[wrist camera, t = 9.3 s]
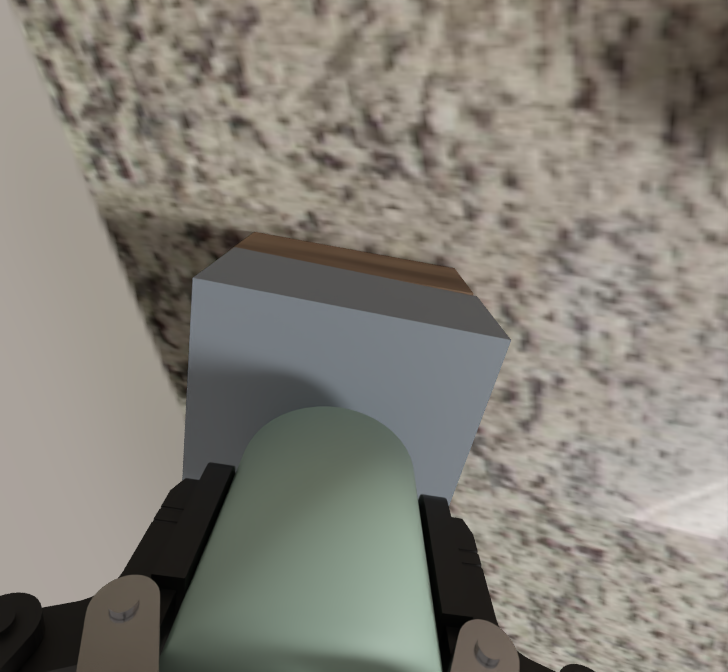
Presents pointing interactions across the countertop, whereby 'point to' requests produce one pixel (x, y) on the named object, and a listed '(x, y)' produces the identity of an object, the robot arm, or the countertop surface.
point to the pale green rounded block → (313, 558)
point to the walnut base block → (358, 261)
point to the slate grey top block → (336, 359)
